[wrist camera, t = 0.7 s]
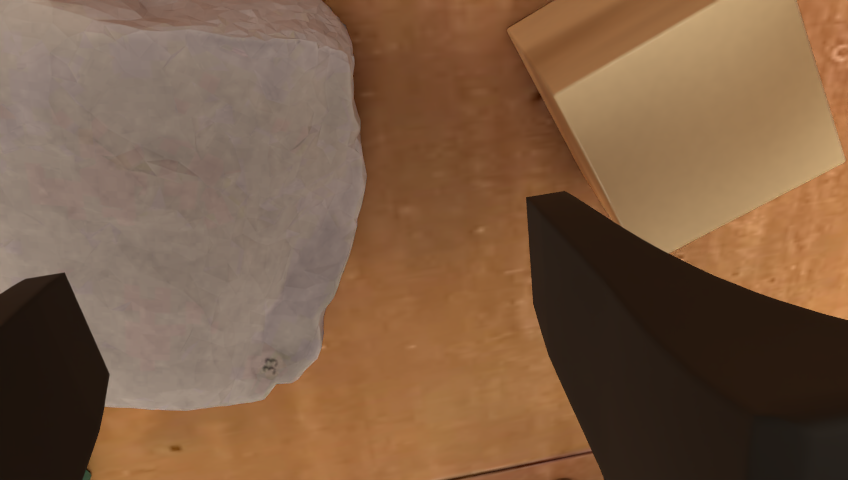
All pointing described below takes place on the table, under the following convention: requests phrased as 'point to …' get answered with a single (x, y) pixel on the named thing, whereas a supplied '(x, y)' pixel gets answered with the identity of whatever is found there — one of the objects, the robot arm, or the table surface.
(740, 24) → the maple block
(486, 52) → the table surface
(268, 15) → the stone block
